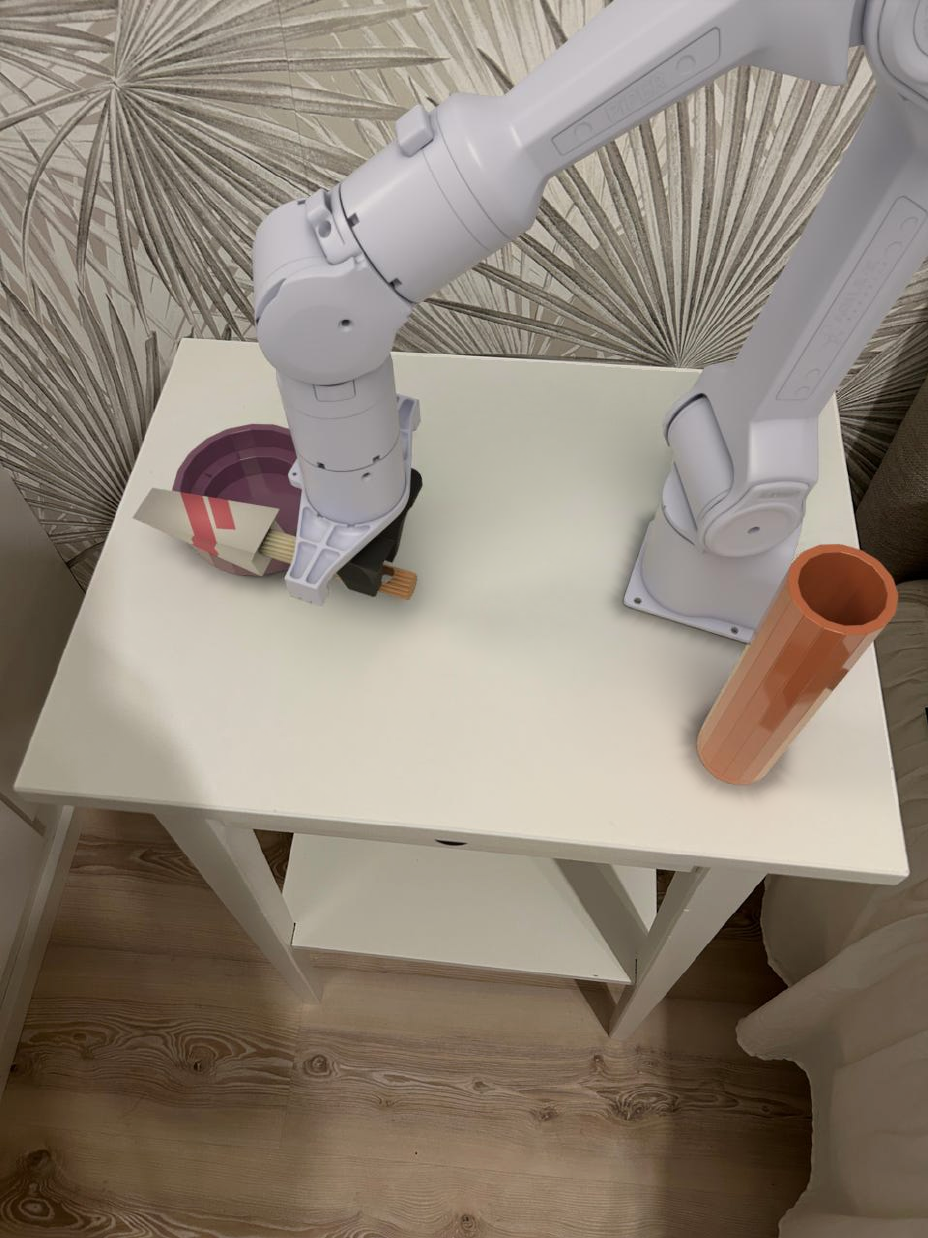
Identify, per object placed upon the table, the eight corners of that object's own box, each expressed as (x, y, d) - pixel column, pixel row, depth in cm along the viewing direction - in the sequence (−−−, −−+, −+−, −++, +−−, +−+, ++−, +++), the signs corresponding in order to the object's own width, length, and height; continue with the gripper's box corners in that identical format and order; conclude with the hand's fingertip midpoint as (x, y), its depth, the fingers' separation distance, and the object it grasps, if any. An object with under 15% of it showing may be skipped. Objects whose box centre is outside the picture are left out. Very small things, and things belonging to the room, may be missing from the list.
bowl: (359, 484, 70) (352, 446, 67) (296, 598, 65) (284, 564, 61) (233, 447, 73) (219, 407, 69) (162, 554, 67) (143, 518, 63)
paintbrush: (150, 467, 61) (422, 554, 59) (160, 492, 64) (422, 576, 61) (121, 510, 60) (400, 601, 57) (133, 533, 62) (401, 622, 59)
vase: (779, 728, 60) (904, 561, 42) (765, 796, 57) (890, 648, 40) (706, 704, 61) (798, 531, 43) (688, 770, 58) (779, 614, 41)
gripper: (334, 322, 51) (361, 474, 63) (213, 513, 45) (268, 643, 56) (449, 352, 50) (454, 501, 62) (341, 553, 43) (370, 678, 55)
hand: (372, 571), depth 59 cm, fingers closed on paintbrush, 2 cm apart
